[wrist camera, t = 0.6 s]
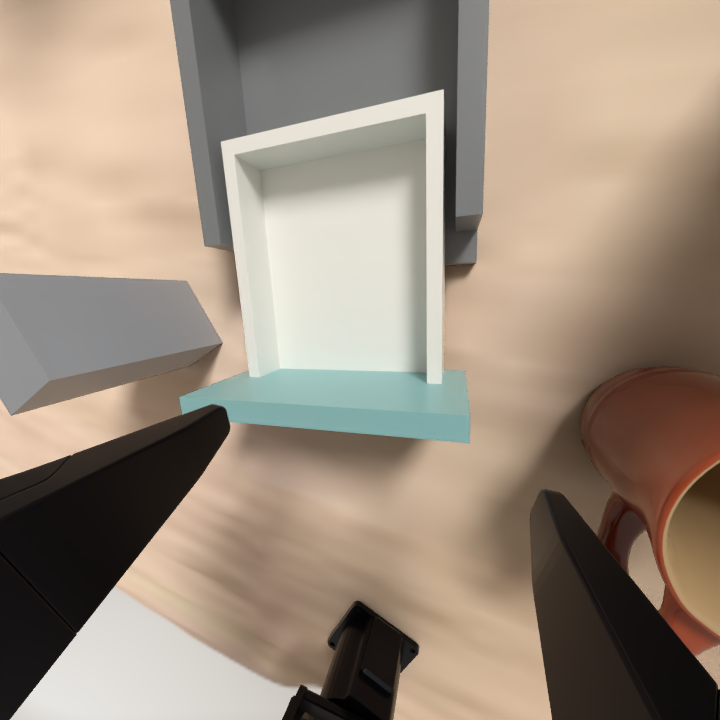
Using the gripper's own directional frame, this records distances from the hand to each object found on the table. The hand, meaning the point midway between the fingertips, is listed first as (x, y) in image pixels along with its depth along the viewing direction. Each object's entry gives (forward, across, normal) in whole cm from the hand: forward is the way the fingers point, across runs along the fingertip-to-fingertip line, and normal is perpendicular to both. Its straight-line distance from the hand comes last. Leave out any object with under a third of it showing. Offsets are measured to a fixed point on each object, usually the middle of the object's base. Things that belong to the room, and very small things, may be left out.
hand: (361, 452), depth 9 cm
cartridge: (+13, +20, +4) cm, 25 cm away
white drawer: (+14, +5, -1) cm, 15 cm away
